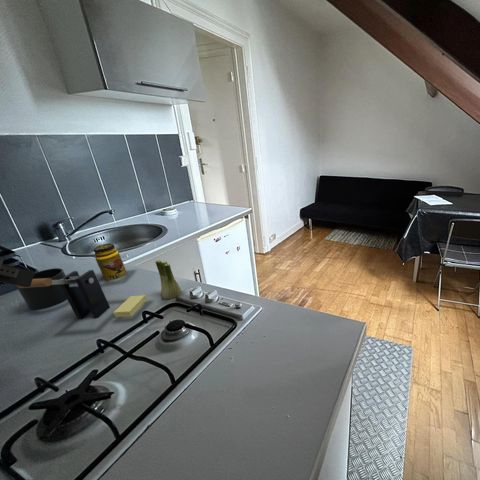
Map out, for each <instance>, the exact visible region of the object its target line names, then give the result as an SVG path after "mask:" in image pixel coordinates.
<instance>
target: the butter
mask: <svg viewBox="0 0 480 480" xmlns="http://www.w3.org/2000/svg"><path fill="white" fill-rule="evenodd" d="M147 301H148V298H147V296H146V295H145V294H142V295H141V294H140V295H130V296H129V297H128V298H127V299H126V300H125V301H124V302H122V304H120V305H119V306H118V307H117V308H116V309H115V310H114V311H112V313H113V315H114V317H115V318H129V317H132V316H134V314H135V313H137V311H138V310H139V309H140V308H141V307H142V306H143V305H144V304H145V303H146V302H147Z"/></svg>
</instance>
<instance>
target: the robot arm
mask: <svg viewBox="0 0 480 480" xmlns="http://www.w3.org/2000/svg"><path fill="white" fill-rule="evenodd" d="M3 262H4V258H3V257H0V283H2V284H7V285H12V286H16V285H17V286H22V287H30V285H31V282H32V280H33V277H34V274H35V273H36V272H35V271H32V270H29V269H25V268H21V267H16V266H14V265H9V264H5V263H3Z"/></svg>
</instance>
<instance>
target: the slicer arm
mask: <svg viewBox="0 0 480 480" xmlns="http://www.w3.org/2000/svg"><path fill="white" fill-rule="evenodd" d="M80 276H81V275H79V276H75V277H69V280H51V279H50V278H42V279H33V280H32V282H31V285H30V287H44V286H50V285H58V284H69V287H78V285H77V283H76V281H75V279H76V278H78V277H80ZM17 287H19V288H30V287H22V286H17ZM17 287H16V288H17Z"/></svg>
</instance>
